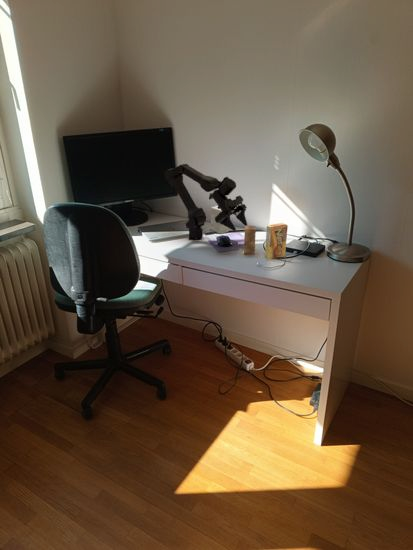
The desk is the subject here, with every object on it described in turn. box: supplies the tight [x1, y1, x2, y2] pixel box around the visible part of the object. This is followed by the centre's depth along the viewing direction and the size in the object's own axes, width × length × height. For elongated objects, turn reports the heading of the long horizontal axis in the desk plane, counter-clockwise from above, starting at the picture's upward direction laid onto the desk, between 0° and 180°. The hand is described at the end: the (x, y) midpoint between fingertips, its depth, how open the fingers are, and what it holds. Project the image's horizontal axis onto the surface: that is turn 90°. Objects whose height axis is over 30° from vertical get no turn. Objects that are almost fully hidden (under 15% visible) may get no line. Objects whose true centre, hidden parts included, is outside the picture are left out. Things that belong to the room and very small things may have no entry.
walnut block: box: [243, 225, 257, 255], centre depth 195 cm, size 5×5×12 cm
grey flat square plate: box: [237, 248, 261, 258], centre depth 198 cm, size 10×10×1 cm
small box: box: [210, 205, 230, 234], centre depth 224 cm, size 8×6×13 cm
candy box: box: [264, 222, 289, 260], centre depth 191 cm, size 9×4×15 cm, turn 116°
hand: (241, 227), depth 196 cm, fingers open, 9 cm apart
